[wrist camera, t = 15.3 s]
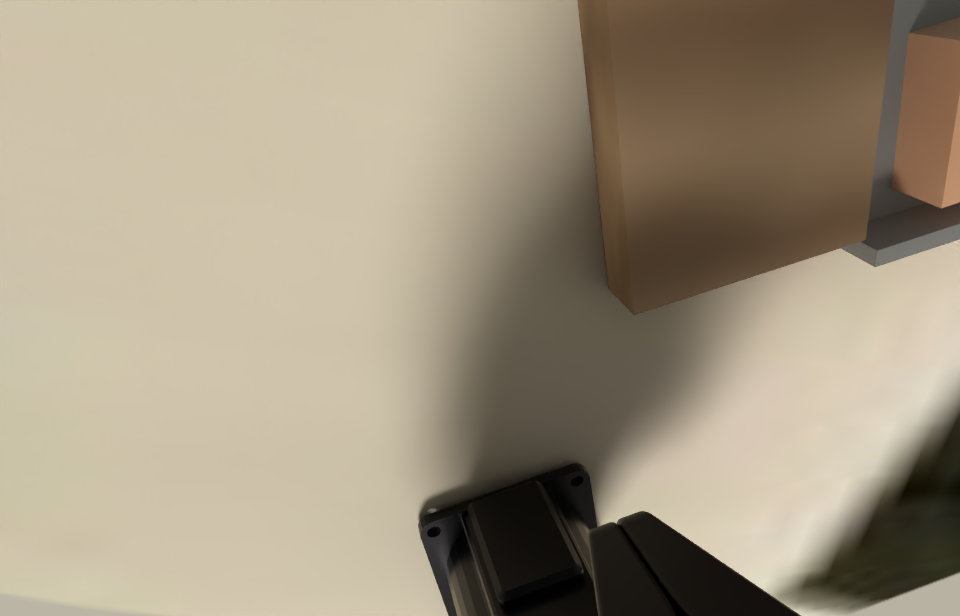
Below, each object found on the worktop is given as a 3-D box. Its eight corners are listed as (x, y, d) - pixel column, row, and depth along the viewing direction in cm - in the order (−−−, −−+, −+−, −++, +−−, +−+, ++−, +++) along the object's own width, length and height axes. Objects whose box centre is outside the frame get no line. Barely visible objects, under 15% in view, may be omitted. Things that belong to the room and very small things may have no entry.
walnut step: (826, 219, 23) (866, 240, 21) (608, 288, 22) (633, 314, 20) (872, -326, 16) (937, -356, 14) (549, -262, 15) (582, -286, 13)
